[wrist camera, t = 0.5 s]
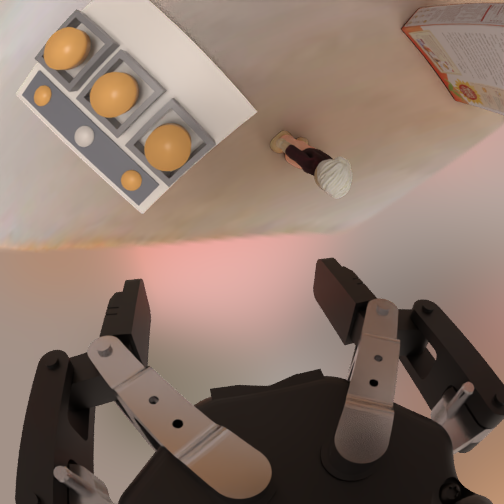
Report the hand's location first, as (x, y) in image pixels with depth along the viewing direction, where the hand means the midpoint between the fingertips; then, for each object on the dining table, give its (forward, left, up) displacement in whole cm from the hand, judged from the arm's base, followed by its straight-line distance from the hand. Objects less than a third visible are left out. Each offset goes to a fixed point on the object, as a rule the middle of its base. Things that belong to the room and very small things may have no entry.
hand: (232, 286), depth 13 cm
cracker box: (-34, +6, -22) cm, 41 cm away
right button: (+1, -5, -17) cm, 17 cm away
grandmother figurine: (-8, +5, -22) cm, 24 cm away
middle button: (+1, -12, -17) cm, 20 cm away
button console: (+1, -12, -22) cm, 25 cm away
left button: (+1, -19, -17) cm, 25 cm away
